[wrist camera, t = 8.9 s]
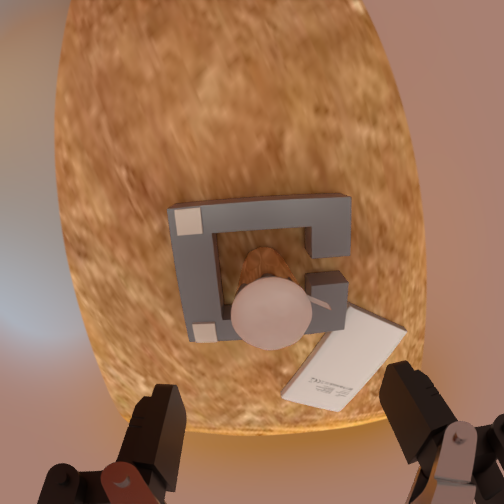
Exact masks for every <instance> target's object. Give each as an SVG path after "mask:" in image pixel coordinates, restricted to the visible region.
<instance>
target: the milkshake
mask: <svg viewBox="0 0 504 504" xmlns="http://www.w3.org/2000/svg"><path fill="white" fill-rule="evenodd" d="M310 301H311V302H313V303H315V304H317V305H320V306H322V307H324V308H327V309H329V310H332V309H331V307H330V305H329V304H328V303H326V302H324V301H321V300H319V299H316V298H314V297H312V296H309V295H307V294H306V293H305V291H304V290H303V289H302V287H301V286H300V284H299V283H298V282H297V280H296V279H295V277H294V276H293V274H292V272H291V271H290V269H289V267H288V266H287V264H286V263H285V261H284V259H283V258H282V256H281V255H279V254H278V253H277V252H276V251H275V250H274V249H273V248H267V247H258V248H256V249H254V250H253V251H251V252H249V253H248V255H247V257H246V259H245V261H244V263H243V266H242V271H241V275H240V279H239V284H238V288H237V291H236V294H235V298H234V301H233V304H232V308H231V322H232V326H233V328H234V330H235V331H236V333H237V334H238V335H239V336H240V337H241V338H242V339H243V340H244V341H245V342H247V343H248V344H250V345H252V346H255V347H258V348H260V349H264V350H277V349H281V348H284V347H287V346H290V345H292V344H294V343H296V342H297V341H298V340H299V339H300V338H301V337H302V336H303V334H304V333H305V331H306V329H307V328H308V326H309V324H310V322H311V319H312V307H311V303H310Z"/></svg>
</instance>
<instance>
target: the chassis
mask: <svg viewBox="0 0 504 504" xmlns="http://www.w3.org/2000/svg"><path fill="white" fill-rule="evenodd" d="M167 213H168V221H169V229H170V236H171V243H172V250H173V256H174V263H175V269H176V275H177V281H178V286H179V292H180V297H181V303H182V308H183V313H184V318H185V323H186V328H187V333H188V337H189V342H196V343H206V342H218V341H228V340H243V339H242V338H241V337H240V336H239V335H238V334H237V333H236V331H235V330H234V328H233V326H232V322H231V308H232V305H224V299H223V291H222V283H221V274H220V265H219V256H218V247H217V237H216V233H222V232H236V231H249V230H264V229H279V228H295V227H305V249H306V251H307V252H308V254H309V255H310V257H311V258H312V259H314V258H327V257H340V256H350V246H351V197H350V196H347V195H344V194H342V193H323V194H297V195H278V196H261V197H246V198H233V199H220V200H209V201H198V202H188V203H178V204H174V205H173V206H171V207H169V208H168V209H167ZM348 284H349V282H348V281H347V280H346V279H345V277H344V276H343V275H342V274H341V272H340V271H330V272H319V273H307V274H305V293H306V294H307V295H309V296H312V297H314V298H316V299H319V300H321V301H324V302H326V303H328V304H329V305H330V307H331V309H332V310H329V309H327V308H324V307H322V306H320V305H317V304H315V303H313V302H311V301H310V303H311V307H312V319H311V322H310V324H309V326H308V328H307V329H306V331H305V333H304V334H303V335H305V334H314V333H322V332H330V331H338V330H344V328H345V319H346V308H347V297H348Z"/></svg>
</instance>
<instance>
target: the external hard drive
mask: <svg viewBox="0 0 504 504" xmlns="http://www.w3.org/2000/svg"><path fill="white" fill-rule="evenodd" d="M406 333H407V330H406V329H405V328H404V327H402V326H400V325H398V324H396V323H393V322H391V321H389V320H387V319H385V318H382V317H380V316H378V315H376V314H374V313H371V312H369V311H367V310H365V309H363V308H361V307H358V306H356V305H354V304H352V303H350V302H348V301H347V308H346V319H345V328H344V330H338V331H330V332H326V333H325V334H324V335H323V337H322V338H321V340H320V341H319V342H318V344H317V345H316V347H315V348H314V349H313V351H312V352H311V353H310V355H309V356H308V357H307V359H306V360H305V361H304V363H303V364H302V365H301V367H300V368H299V369H298V371H297V372H296V373H295V375H294V376H293V377H292V378H291V380H290V381H289V382H288V383H287V385H286V386H285V387H284V388H283V390H282V391H281V398H283V399H285V400H288V401H292V402H296V403H300V404H305V405H309V406H313V407H318V408H322V409H327V410H331V411H337V412H339V411H341V410H342V409H343V408H344V407H345V406H346V404H347V403H348V402H349V401H350V400H351V399H352V398H353V397H354V396H355V395H356V394H357V393H358V392H359V391H360V390H361V389H362V387H363V386H364V385H365V384H366V383H367V382H368V381H369V379H370V378H371V377H372V376H373V375H374V374H375V373H376V371H377V370H378V369H379V368H380V367H381V365H382V364H383V363H384V362H385V361H386V359H387V358H388V357H389V355H390V354H391V353H392V352H393V350H394V349H395V348H396V346H397V345H398V344H399V342H400V341H401V340H402V338H403V337H404V336H405V334H406Z"/></svg>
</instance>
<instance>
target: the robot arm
mask: <svg viewBox="0 0 504 504" xmlns="http://www.w3.org/2000/svg"><path fill="white" fill-rule="evenodd" d="M379 398H380V403H381V405H382V408H383V410H384V412H385V414H386V416H387V418H388V420H389V422H390V424H391V427H392V429H393V431H394V433H395V435H396V438H397V440H398V442H399V444H400V446H401V449H402V451H403V453H404V456H405V458H406V460H407V462H408V464H411V463H414V462H416V461H418V462H419V464H420V466H419V468H418V471H417V473H416V476H415V479H414V482H413V485H412V487H411V490H410V493H409V495H408V497H407V500H406V502H405V504H473V501H474V499H475V502H476V504H504V477H503V475H502V473H501V471H500V469H499V467H498V465H497V463H496V460H497V459H498V460H499V462H500V464H501V466H502V468H503V470H504V414H501V415H499V416H498V417H497V418H496V419H495V421H494V422H493V424H491V425H486V426H481V427H473V426H472V425H471V424H470V423H468V422H464V421H458V420H457V419H456V417H455V416H454V414H453V413H452V411H451V410H450V408H449V407H448V405H447V404H446V402H445V401H444V399H443V398H442V396H441V395H440V394H439V392H438V391H437V389H436V388H435V387H434V384H433V383H432V382H431V380H430V379H429V377H428V376H427V375H425V374H424V373H422V372H421V371H420V370H415V371H414V369H413V368H412V367H411V365H410V364H409V362H408V361H406V360H405V361H401V362H396V363H392V364H389V365H388V366H387V368H386V371H385V374H384V378H383V381H382V384H381V388H380V392H379ZM185 428H186V411H185V407H184V404H183V402H182V399H181V396H180V393H179V390H178V387H177V385H170V384H156V385H155V387H154V390H153V393H152V396H151V397H147V396H144V397H143V398H142V399H141V400H140V401H139V402H138V403H137V404H136V406H135V409H134V411H133V414H132V418H131V420H130V423H129V427H128V429H127V431H126V435H125V437H124V440H123V443H122V446H121V449H120V452H119V455H118V458H117V460H116V462H114V463H111V464H109V465H108V466H107V467H105V468H104V470H102V471H91V472H90V471H89V472H78V471H77V470H76V469H75V468H74V467H73V466H71V465H68V464H65V463H61V464H56V465H54V466H53V467H52V468H51V469H50V470H49V471H48V473H47V476H46V479H45V482H44V485H43V487H42V490H41V493H40V496H39V500H38V503H37V504H167V503H166V502H165V500H164V499H165V492H166V491H170V492H175V489H176V482H177V476H178V470H179V463H180V457H181V451H182V445H183V439H184V433H185Z"/></svg>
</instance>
